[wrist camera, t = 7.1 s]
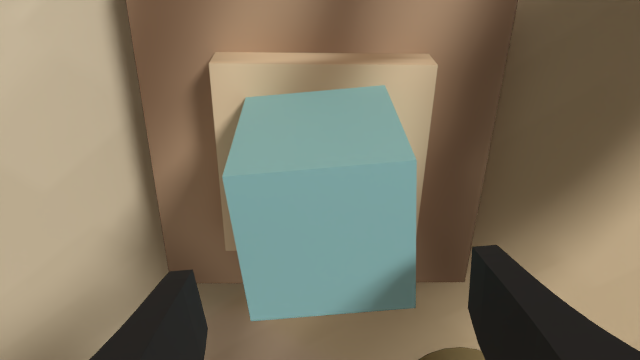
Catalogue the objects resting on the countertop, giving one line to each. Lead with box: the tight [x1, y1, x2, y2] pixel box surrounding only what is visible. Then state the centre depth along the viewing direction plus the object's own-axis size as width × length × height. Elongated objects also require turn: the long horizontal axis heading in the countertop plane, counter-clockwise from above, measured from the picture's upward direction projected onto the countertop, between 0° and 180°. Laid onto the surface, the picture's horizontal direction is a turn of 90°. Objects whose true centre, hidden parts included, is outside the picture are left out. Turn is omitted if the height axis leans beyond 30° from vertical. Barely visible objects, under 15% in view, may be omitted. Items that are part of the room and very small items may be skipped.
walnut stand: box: [126, 0, 518, 283], centre depth 21 cm, size 14×14×3 cm
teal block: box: [222, 85, 417, 321], centre depth 17 cm, size 5×5×6 cm
